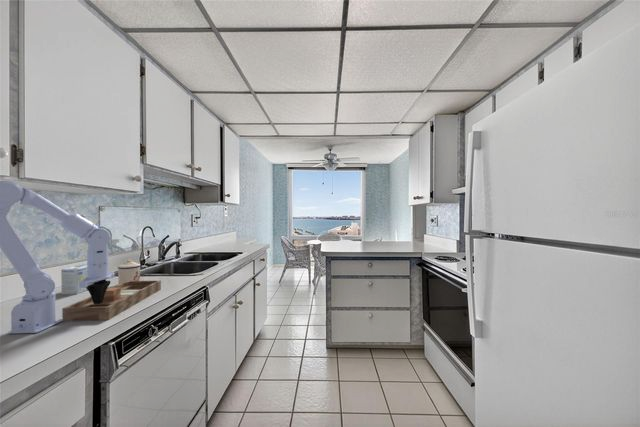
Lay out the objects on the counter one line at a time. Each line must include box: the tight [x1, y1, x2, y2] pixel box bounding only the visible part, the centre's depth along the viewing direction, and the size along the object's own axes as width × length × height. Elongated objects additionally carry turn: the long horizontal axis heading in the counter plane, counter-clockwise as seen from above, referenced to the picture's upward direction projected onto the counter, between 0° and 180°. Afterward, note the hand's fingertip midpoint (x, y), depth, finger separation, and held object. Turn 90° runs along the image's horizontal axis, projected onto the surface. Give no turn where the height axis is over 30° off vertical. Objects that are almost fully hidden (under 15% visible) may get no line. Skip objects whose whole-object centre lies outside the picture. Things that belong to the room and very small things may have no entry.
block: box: [103, 287, 121, 302], centre depth 105 cm, size 4×4×4 cm
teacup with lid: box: [117, 259, 141, 285], centre depth 139 cm, size 12×9×12 cm
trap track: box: [61, 280, 162, 322], centre depth 110 cm, size 36×14×4 cm, turn 5°
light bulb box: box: [60, 264, 88, 295], centre depth 126 cm, size 11×7×11 cm, turn 5°
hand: (98, 303), depth 98 cm, fingers closed
